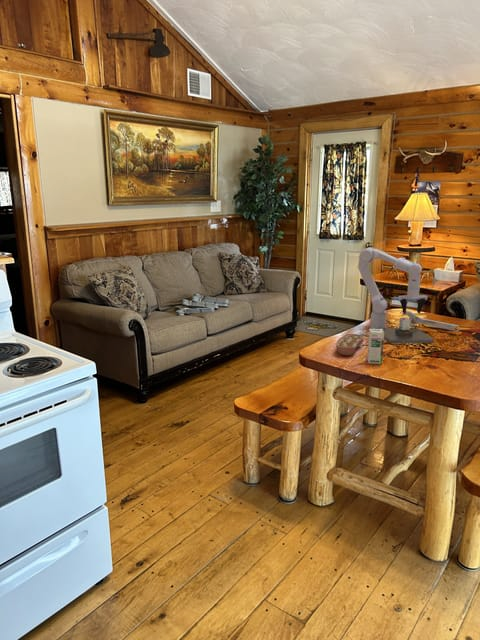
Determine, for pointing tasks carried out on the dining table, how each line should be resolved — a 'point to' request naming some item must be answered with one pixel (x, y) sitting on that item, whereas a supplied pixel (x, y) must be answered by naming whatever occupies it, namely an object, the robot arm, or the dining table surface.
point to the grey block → (404, 324)
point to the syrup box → (375, 346)
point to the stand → (406, 335)
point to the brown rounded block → (349, 343)
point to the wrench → (429, 322)
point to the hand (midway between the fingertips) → (411, 313)
